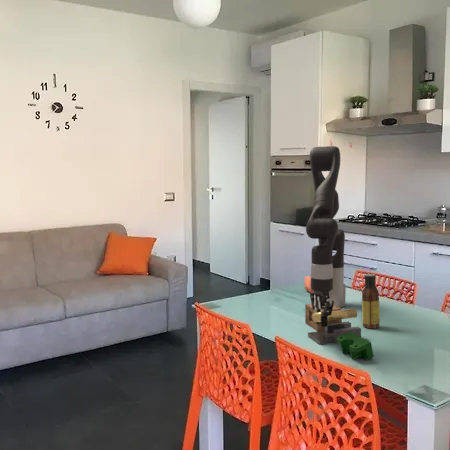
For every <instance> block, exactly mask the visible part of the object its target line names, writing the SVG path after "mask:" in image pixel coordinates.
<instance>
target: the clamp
mask: <svg viewBox="0 0 450 450" xmlns="http://www.w3.org/2000/svg"><path fill="white" fill-rule="evenodd" d="M337 342H338V343H337V344H339V345H340V348H341V353H342V354H343V355H345V354H348V353H350V357H351V358H350V359H351V360H355V359H358V358H359V357H361V358H363V359H365V360H369V359H372V358H374V351H373V346H372V342H371V341H369V340H367V339H366V338H363V337H362V336H361V337H360V336H358V335H356V334H354V333H352V332H348V333H346V334H344V335H341V336H339V337H337Z"/></svg>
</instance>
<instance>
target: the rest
mask: <svg viewBox="0 0 450 450" xmlns="http://www.w3.org/2000/svg"><path fill="white" fill-rule="evenodd" d="M348 332H352V333H354V334H356V335H358V336H360V337H362V328H361V327H360V326H353V327H352V322H350V321H342V322H339V323H330V324H327V326H326V327H325V330H323V331H310V332H307V337H308V338H309V339H311V341H313V342H315V344H316V343H317V345H319V346H322V345H331V344H332V345H333V344H338V342H337V337H339V336H341V335H344V334H346V333H348Z"/></svg>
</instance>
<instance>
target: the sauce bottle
mask: <svg viewBox="0 0 450 450" xmlns="http://www.w3.org/2000/svg"><path fill="white" fill-rule="evenodd" d="M363 276H364V277H363V278H364V287H363V289H362V290H361V296H362V297H361V310H362V311H361V312H362V314H361V316H362V320H361V321H362V325H363V327H364V328H366V329H372V330H375V329H379V327H380V323H381V320H380V317H381V316H380V297H379V295H380V293H379V291H378V289H377V286H376V285H377V284H376V278H377V277H376V274H374V273H365V274H364V275H363Z"/></svg>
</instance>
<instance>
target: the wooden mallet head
mask: <svg viewBox="0 0 450 450" xmlns="http://www.w3.org/2000/svg"><path fill="white" fill-rule="evenodd" d="M304 306H305V310H304V311H305V313H304V314H305V315H304V317H305V320H304V321H305V325H307V326H309V327H310V328H312V329H314V331H315V332H318V331H325V327H322V326H321V324H317V323H316V322H313V321H312V313H315V310H313V309H312V304H311V303H307V304H305V305H304ZM323 307H325V306H323ZM336 310H343V307H338V306H336V305H333V309H332V311H336ZM323 312H324V310H323ZM339 322H343V319H339V320H330V321H327V324H330V323H339Z"/></svg>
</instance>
